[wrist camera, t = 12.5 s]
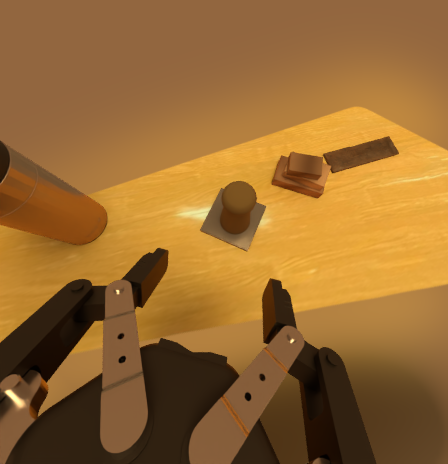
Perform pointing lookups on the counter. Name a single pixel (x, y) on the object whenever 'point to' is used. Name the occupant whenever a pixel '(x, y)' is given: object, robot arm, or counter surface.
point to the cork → (237, 207)
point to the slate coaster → (216, 230)
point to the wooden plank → (360, 154)
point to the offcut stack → (302, 174)
